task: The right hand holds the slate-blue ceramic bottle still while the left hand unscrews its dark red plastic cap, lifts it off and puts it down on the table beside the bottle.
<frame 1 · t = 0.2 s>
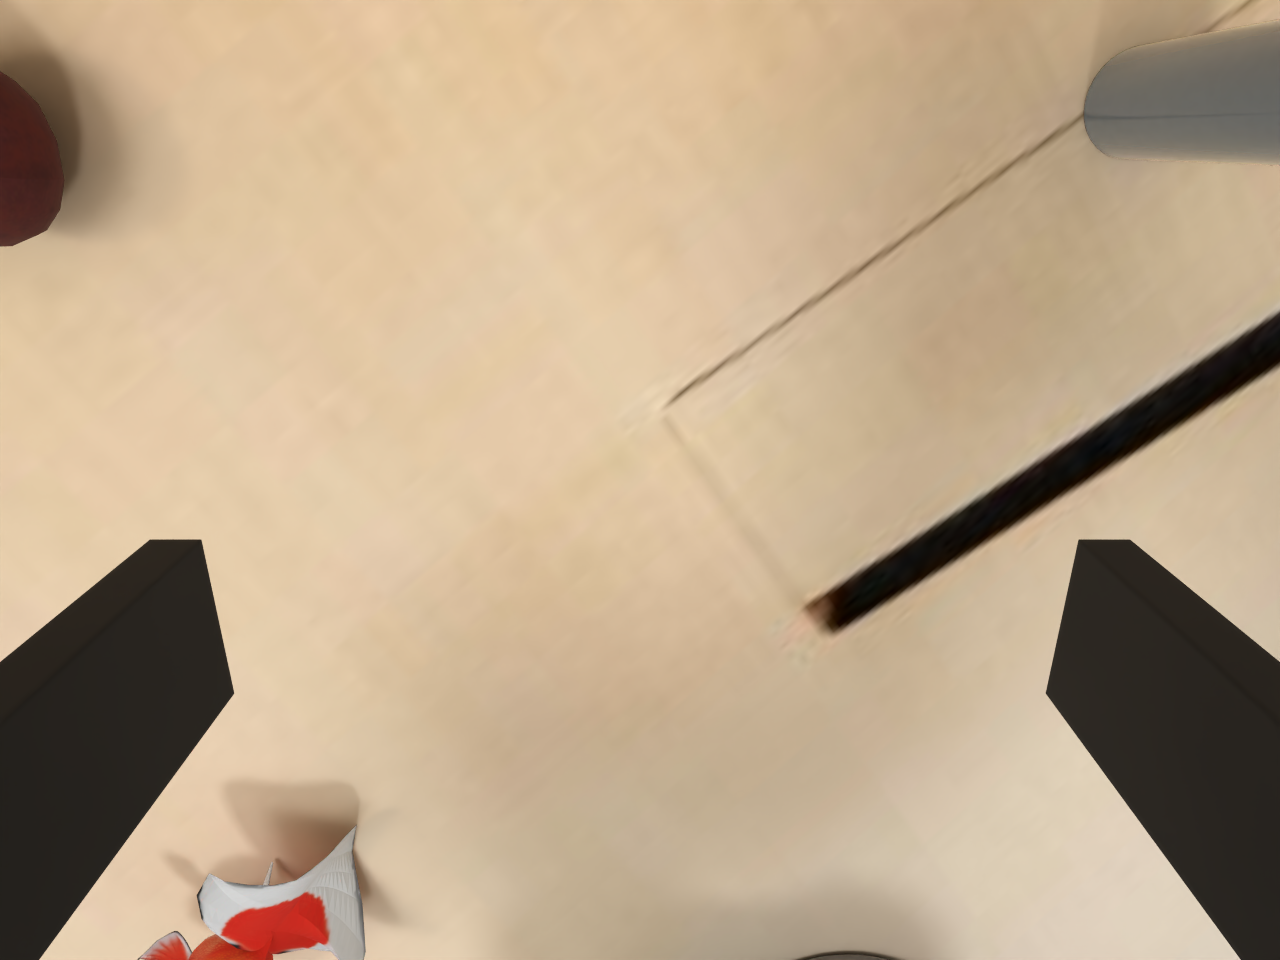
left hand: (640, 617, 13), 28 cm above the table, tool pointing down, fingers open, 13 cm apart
bottle: (1136, 103, 36), on the table
fish: (287, 876, 52), on the table
dark red rounded piece: (16, 150, 37), on the table
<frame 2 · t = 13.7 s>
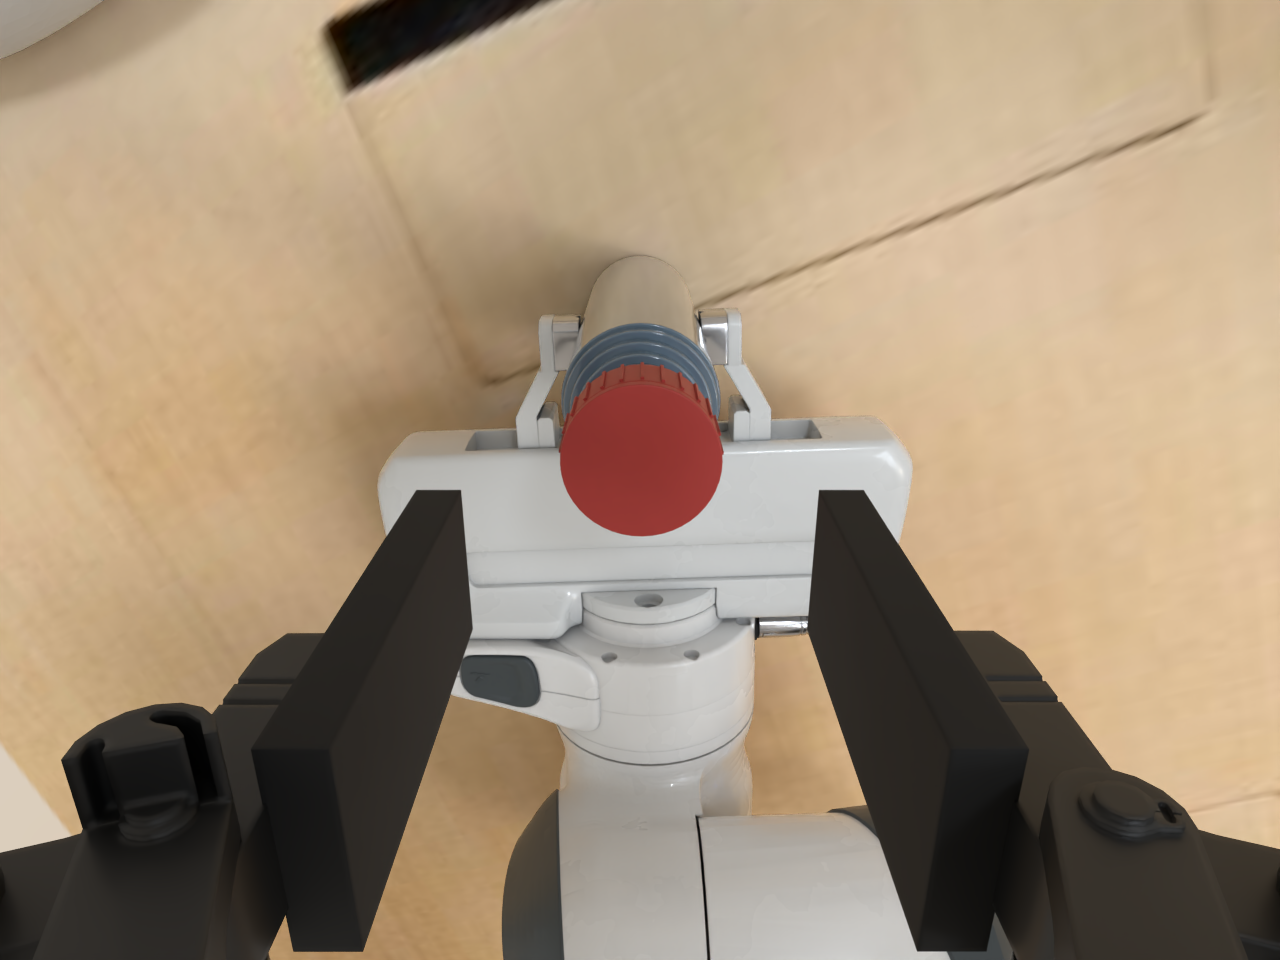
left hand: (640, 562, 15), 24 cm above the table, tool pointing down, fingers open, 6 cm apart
right hand: (638, 313, 31), fingers closed on bottle, 4 cm apart
bottle: (640, 307, 37), on the table, touching right hand
cap: (641, 458, 19), point 19 cm above the table, screwed on, not yet turned
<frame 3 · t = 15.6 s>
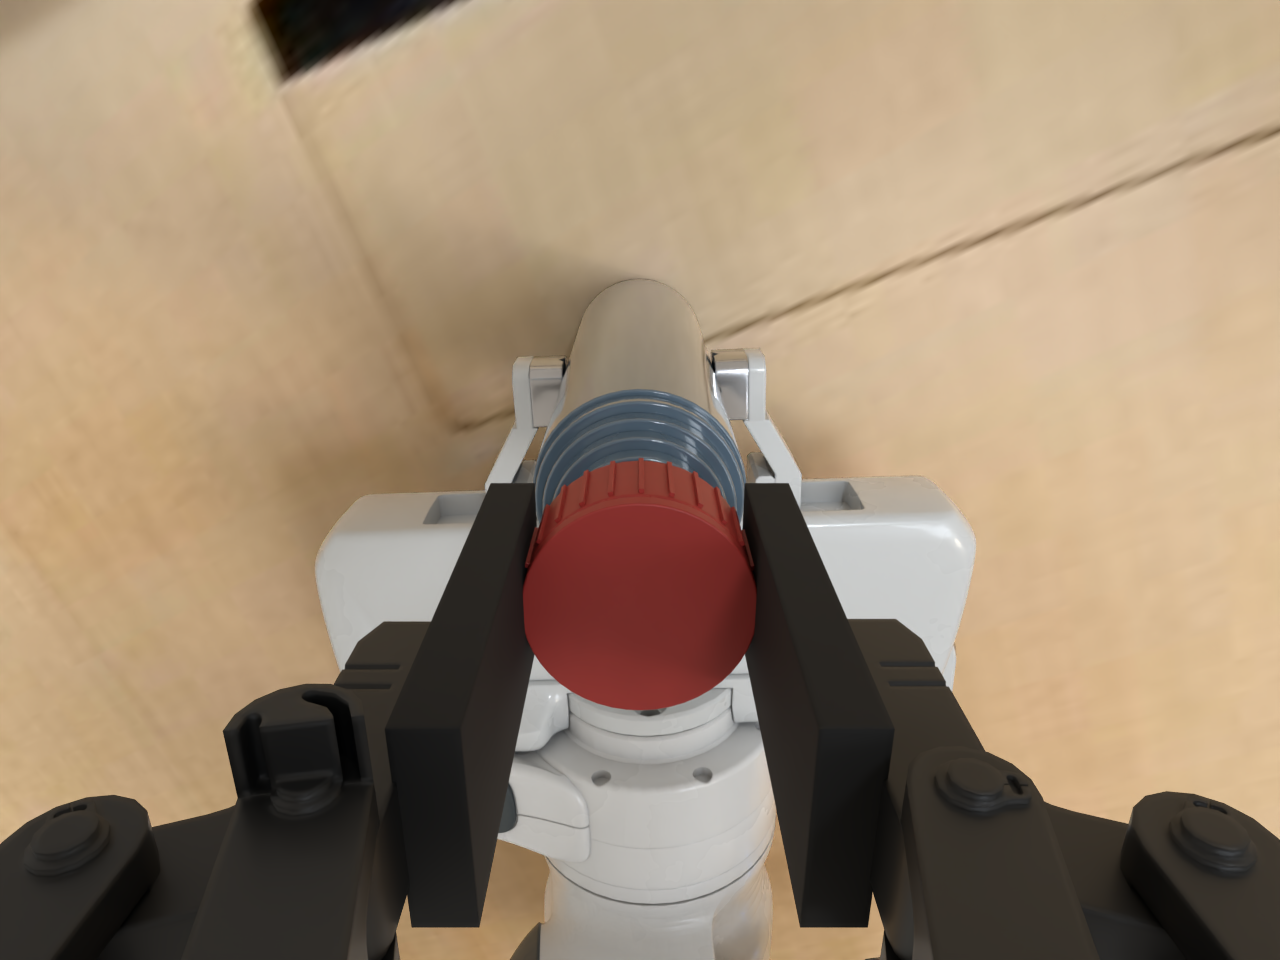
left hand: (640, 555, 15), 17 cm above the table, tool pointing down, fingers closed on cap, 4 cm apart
right hand: (636, 356, 25), fingers closed on bottle, 4 cm apart
bottle: (639, 340, 31), on the table, touching right hand
cap: (639, 603, 13), point 19 cm above the table, screwed on, not yet turned, touching left hand
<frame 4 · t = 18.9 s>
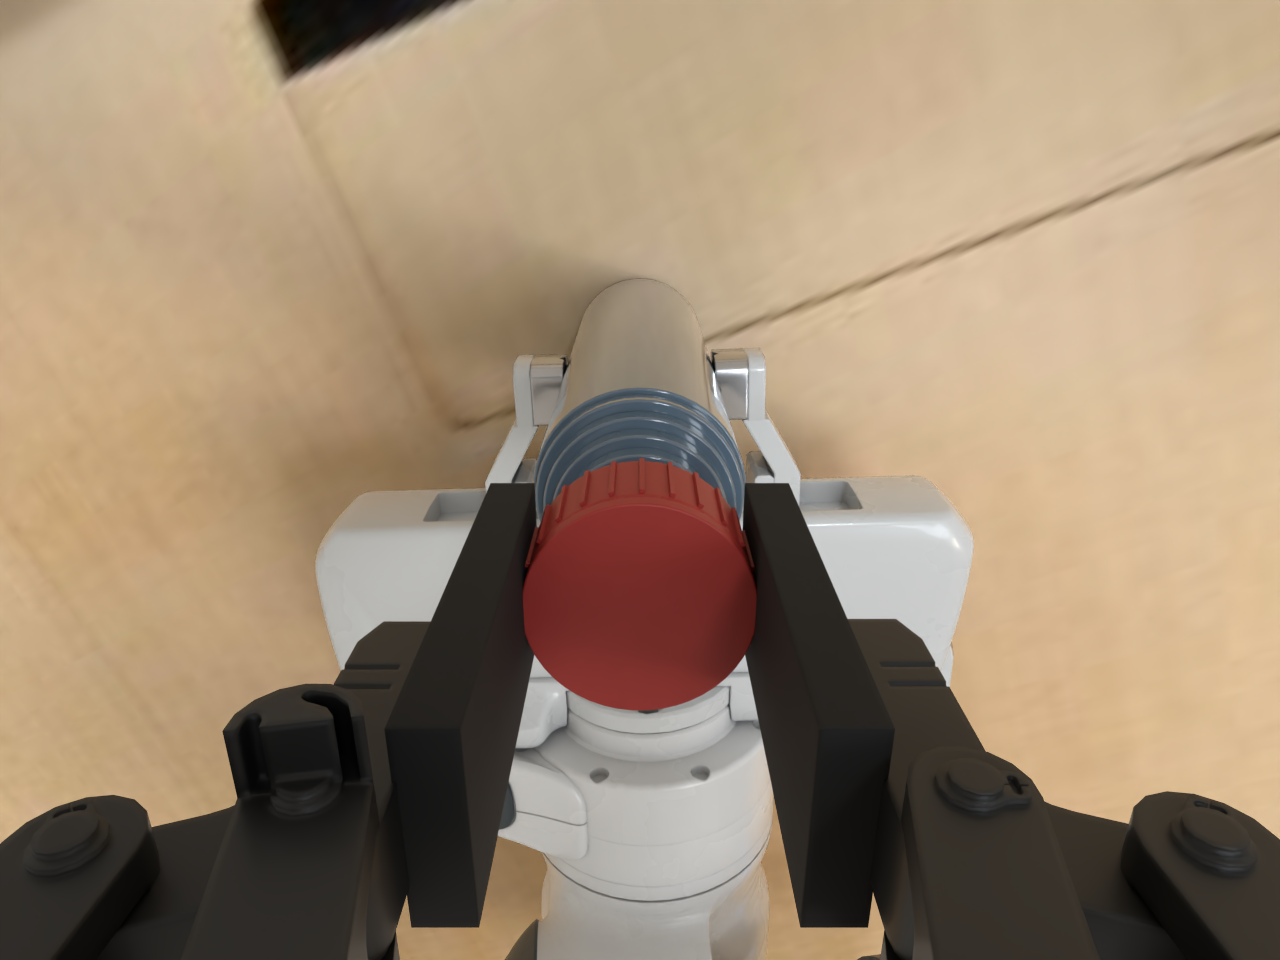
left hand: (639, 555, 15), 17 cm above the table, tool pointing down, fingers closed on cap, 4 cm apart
right hand: (637, 355, 25), fingers closed on bottle, 4 cm apart
bottle: (639, 340, 31), on the table, touching right hand
cap: (639, 603, 13), point 19 cm above the table, turned 101° so far, risen 0.1 cm, still on its thread, touching left hand
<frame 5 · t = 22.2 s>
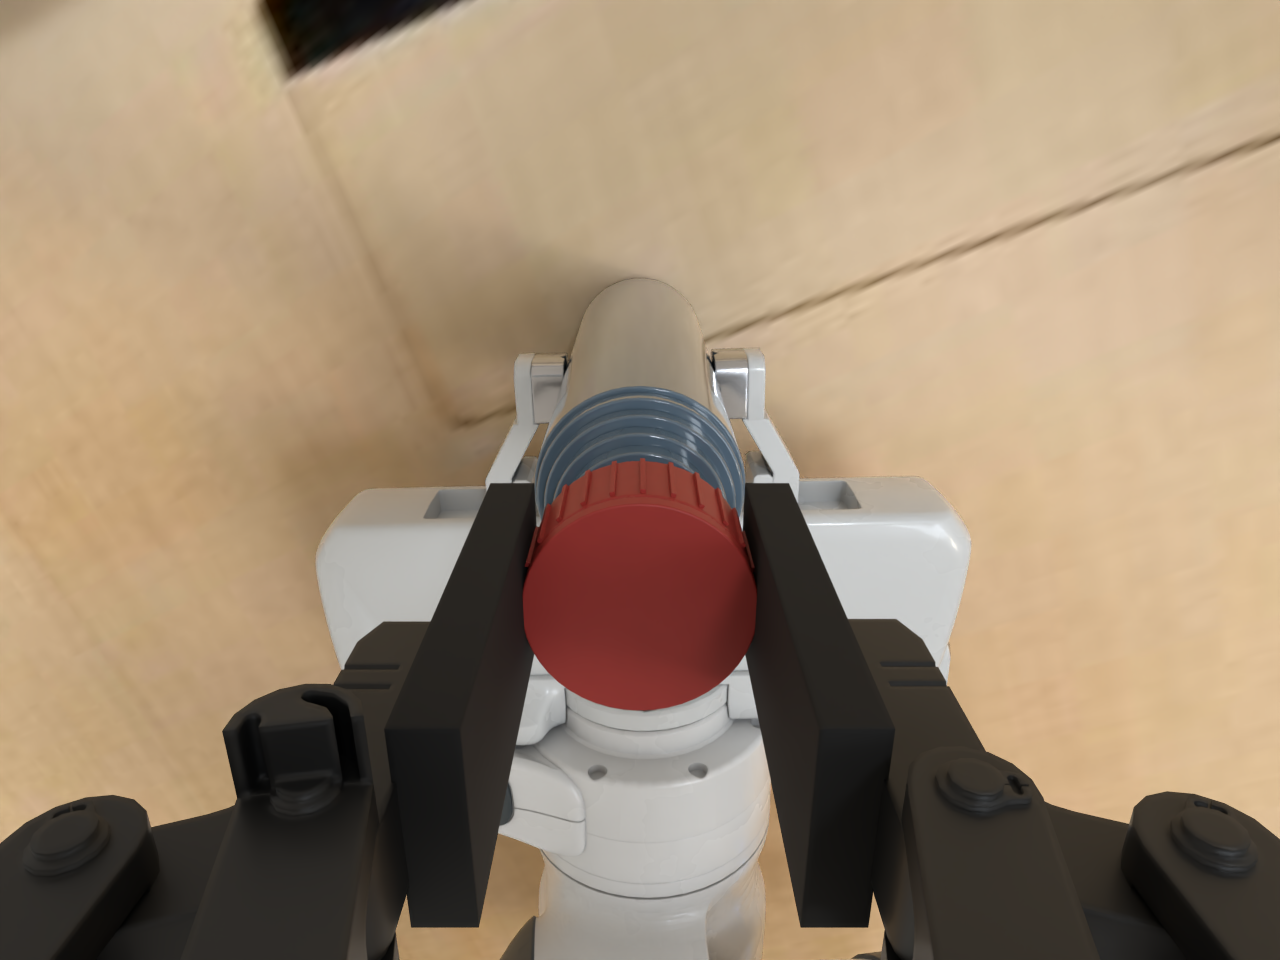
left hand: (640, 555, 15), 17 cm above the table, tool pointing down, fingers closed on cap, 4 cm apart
right hand: (637, 354, 25), fingers closed on bottle, 4 cm apart
bottle: (639, 339, 31), on the table, touching right hand
cap: (639, 603, 13), point 19 cm above the table, turned 202° so far, risen 0.2 cm, still on its thread, touching left hand
when the left hand's fingers open (1 cm above the table, at t = 31.7 s): cap drops 1 cm, point 2 cm above the table.
when the right hand's fingers open (6 cm above the table, at t = 33.0 s): bottle stays where it is, on the table.
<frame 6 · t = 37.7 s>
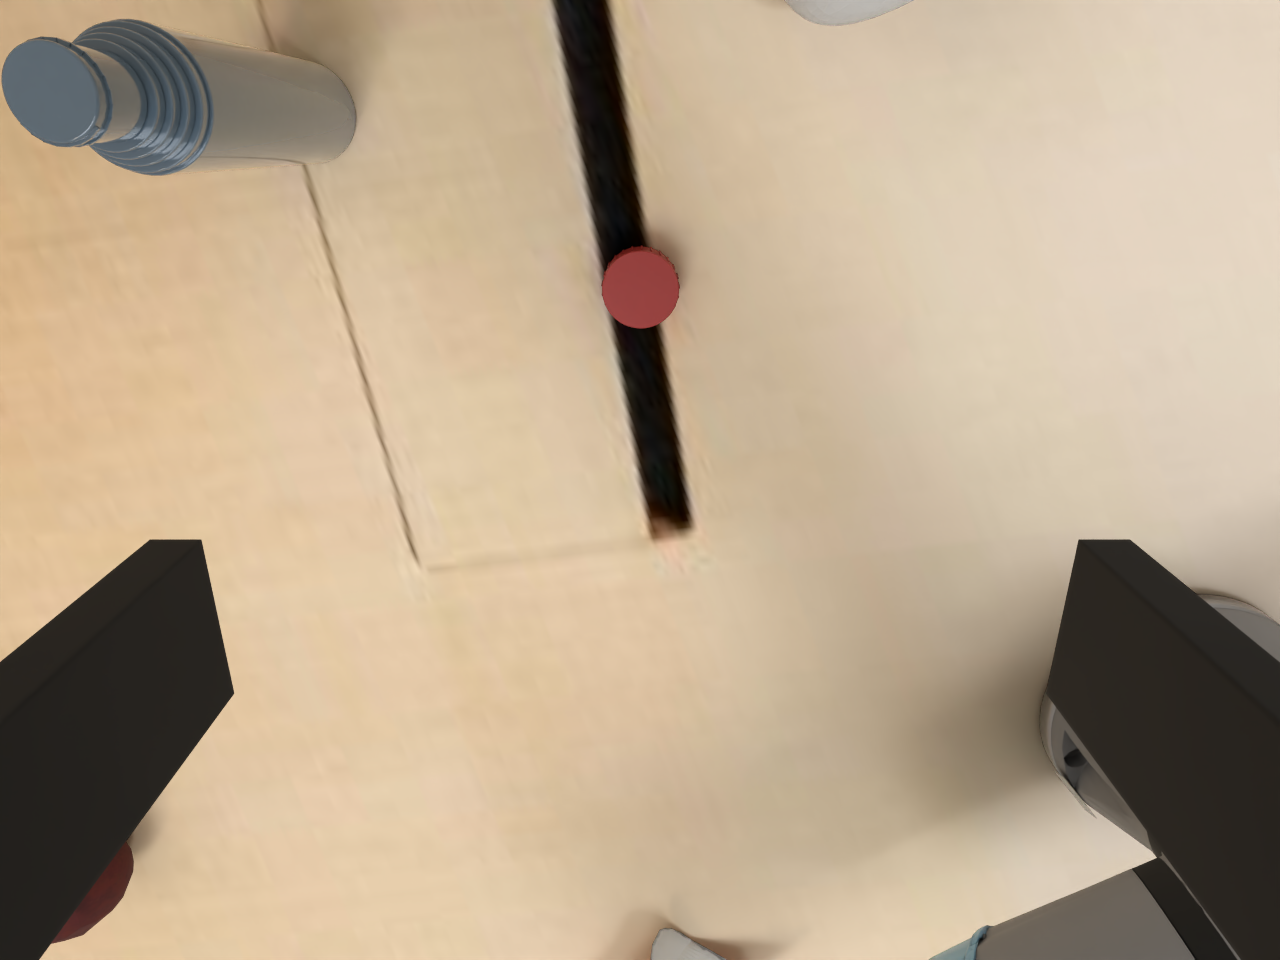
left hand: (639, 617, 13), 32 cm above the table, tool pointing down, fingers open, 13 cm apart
bottle: (308, 113, 40), on the table
cap: (640, 289, 41), point 2 cm above the table, off its thread
dark red rounded piece: (97, 833, 56), on the table
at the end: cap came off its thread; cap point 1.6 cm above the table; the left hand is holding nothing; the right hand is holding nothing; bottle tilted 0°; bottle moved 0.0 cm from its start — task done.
